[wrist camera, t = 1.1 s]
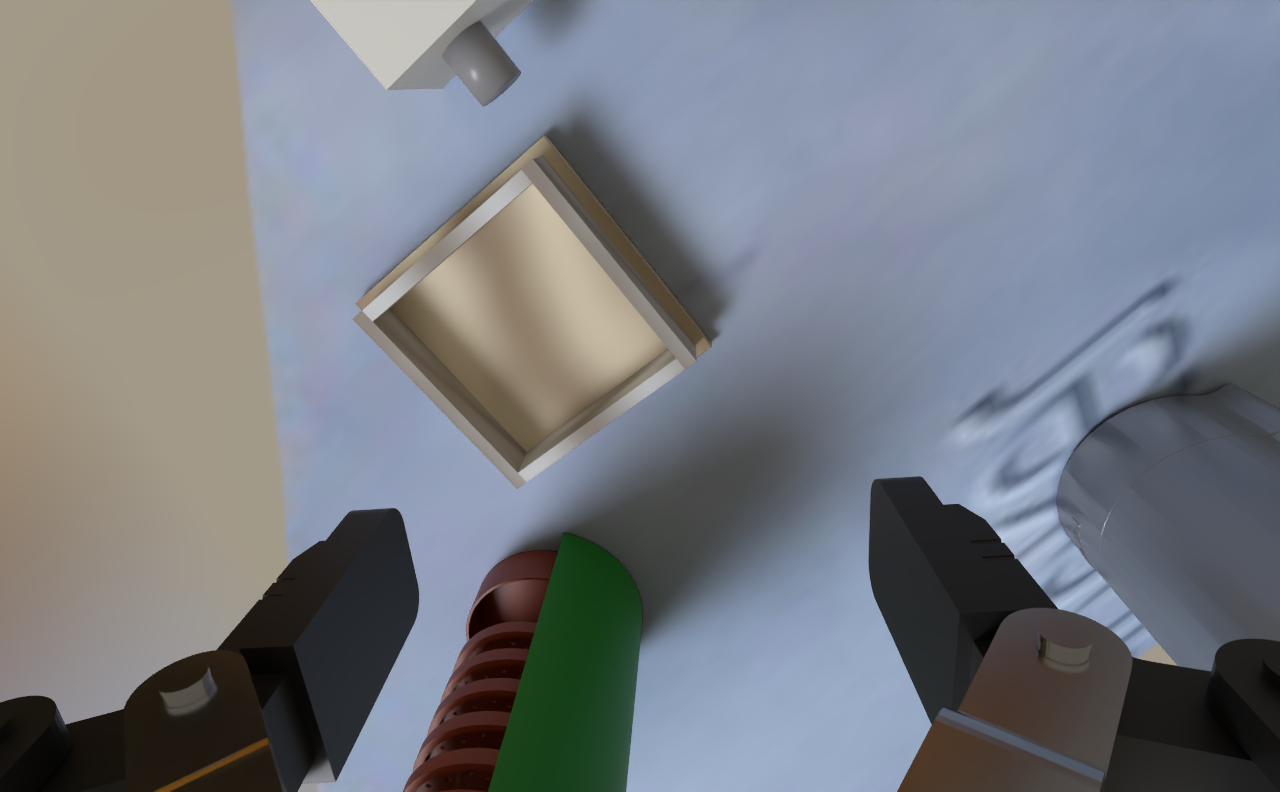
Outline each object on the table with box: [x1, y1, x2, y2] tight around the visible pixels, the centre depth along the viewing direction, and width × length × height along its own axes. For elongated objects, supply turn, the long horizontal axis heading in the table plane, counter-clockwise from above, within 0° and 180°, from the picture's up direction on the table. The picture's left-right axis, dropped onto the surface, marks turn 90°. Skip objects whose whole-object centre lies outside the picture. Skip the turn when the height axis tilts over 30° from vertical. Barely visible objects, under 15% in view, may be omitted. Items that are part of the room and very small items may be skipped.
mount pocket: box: [353, 135, 712, 489], centre depth 31 cm, size 11×11×3 cm
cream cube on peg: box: [310, 0, 533, 106], centre depth 25 cm, size 5×7×6 cm
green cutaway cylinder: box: [403, 533, 643, 792], centre depth 30 cm, size 10×9×20 cm
